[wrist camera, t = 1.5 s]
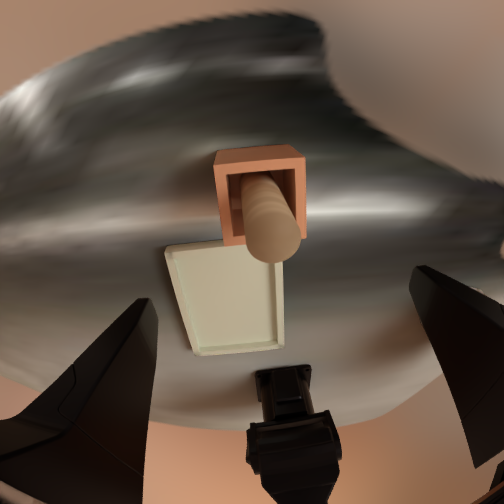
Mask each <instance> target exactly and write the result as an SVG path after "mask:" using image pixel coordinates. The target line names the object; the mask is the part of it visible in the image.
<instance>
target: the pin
mask: <svg viewBox="0 0 504 504" xmlns="http://www.w3.org/2000/svg"><path fill="white" fill-rule="evenodd" d="M239 182H240V193H241V202H242V212H243V221H244V231H245V240H246V246H247V249H248V251H249V252H250V254H251V255H252V256H253V257H254V258H256V259H257V260H259V261H261V262H265V263H279V262H282V261H284V260H286V259H288V258H290V257H291V256H292V255H293V254H294V253H295V252H296V251H297V249H298V247H299V245H300V242H301V231H300V228H299V226H298V224H297V222H296V220H295V218H294V216H293V214H292V212H291V210H290V208H289V207H288V205H287V203H286V201H285V199H284V197H283V195H282V193H281V191H280V189H279V187H278V186H277V184H276V182H275V180H274V178H273V176H272V174H271V173H270V171H269V170H267V171H256V172H245V173H242V175H241V177H240V181H239Z"/></svg>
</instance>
